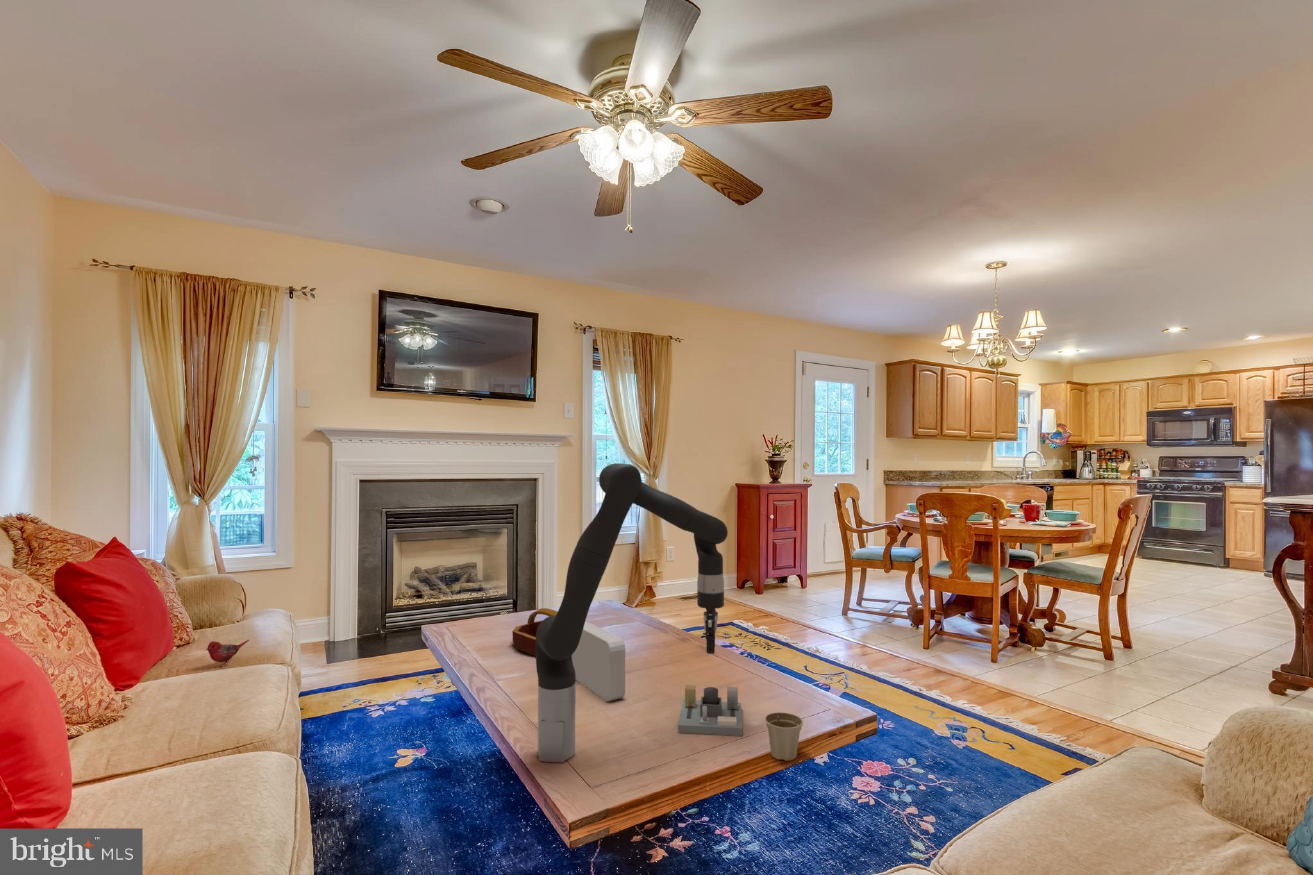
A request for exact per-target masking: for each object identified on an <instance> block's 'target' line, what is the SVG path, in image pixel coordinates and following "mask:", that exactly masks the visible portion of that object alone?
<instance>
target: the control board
mask: <svg viewBox="0 0 1313 875" xmlns="http://www.w3.org/2000/svg"><path fill="white" fill-rule="evenodd" d="M742 714H743V711H742V702H739V701H738V709H727V701H722V697H721V696H720V697H719V696H718V702H717V703H713V704H711V703H706V702H704V696H700V700H697V699H696V707H685V699H682V703H681V708H680V713H679V717H678V718H679V719H678V724H677V732H678V733H680V734H697V735H698V734H699V735H716V736H718V735H719V736H734V737H743V717H742Z"/></svg>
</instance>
